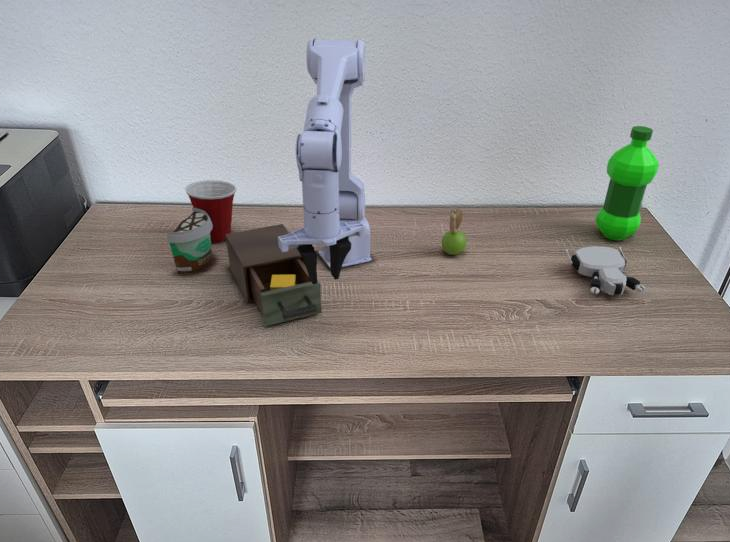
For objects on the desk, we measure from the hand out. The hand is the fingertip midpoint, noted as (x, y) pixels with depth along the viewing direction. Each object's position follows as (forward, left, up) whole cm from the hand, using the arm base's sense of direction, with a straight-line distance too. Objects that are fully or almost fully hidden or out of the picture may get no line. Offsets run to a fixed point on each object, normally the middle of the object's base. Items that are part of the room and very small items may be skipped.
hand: (324, 279), depth 107 cm
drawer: (+5, -8, -10) cm, 13 cm away
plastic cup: (+10, -42, -11) cm, 45 cm away
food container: (+16, -32, -11) cm, 37 cm away
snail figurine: (-35, -14, -11) cm, 40 cm away
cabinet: (+5, -20, -10) cm, 23 cm away
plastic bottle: (-75, -8, -11) cm, 76 cm away
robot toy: (-58, +8, -11) cm, 60 cm away
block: (+5, -9, -9) cm, 13 cm away
